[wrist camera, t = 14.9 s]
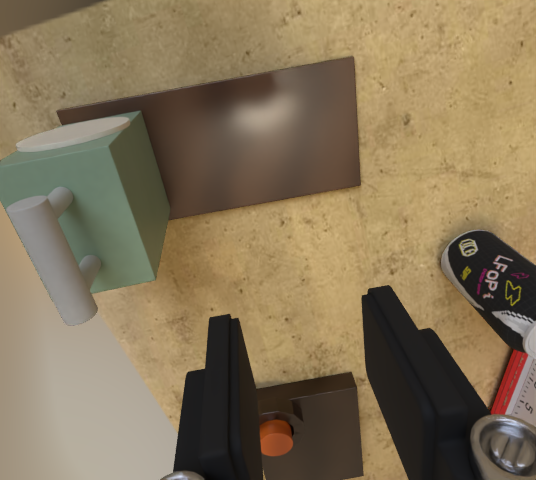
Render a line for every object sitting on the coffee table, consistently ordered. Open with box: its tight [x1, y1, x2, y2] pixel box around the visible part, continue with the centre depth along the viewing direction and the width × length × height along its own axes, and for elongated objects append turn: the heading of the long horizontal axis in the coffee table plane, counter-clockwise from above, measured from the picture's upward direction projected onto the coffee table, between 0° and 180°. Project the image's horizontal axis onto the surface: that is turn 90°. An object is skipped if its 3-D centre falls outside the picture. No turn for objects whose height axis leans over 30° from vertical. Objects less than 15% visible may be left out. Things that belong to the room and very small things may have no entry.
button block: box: [256, 372, 364, 480], centre depth 46 cm, size 13×17×4 cm
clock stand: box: [56, 57, 361, 220], centre depth 31 cm, size 22×10×1 cm, turn 99°
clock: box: [0, 111, 170, 326], centre depth 24 cm, size 6×8×15 cm
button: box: [259, 419, 293, 456], centre depth 41 cm, size 4×4×2 cm
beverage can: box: [441, 230, 536, 359], centre depth 32 cm, size 6×6×12 cm
